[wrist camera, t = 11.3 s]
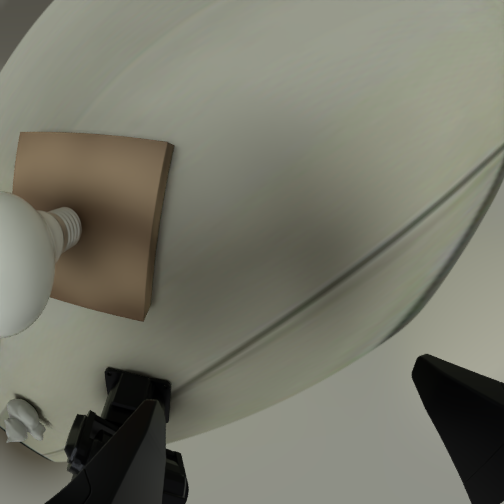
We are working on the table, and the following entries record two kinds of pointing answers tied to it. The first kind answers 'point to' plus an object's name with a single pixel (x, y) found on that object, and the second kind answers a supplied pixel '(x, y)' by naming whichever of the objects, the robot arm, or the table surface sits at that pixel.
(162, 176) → the walnut plinth
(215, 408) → the table surface
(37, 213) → the lightbulb
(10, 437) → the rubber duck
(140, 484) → the robot arm
